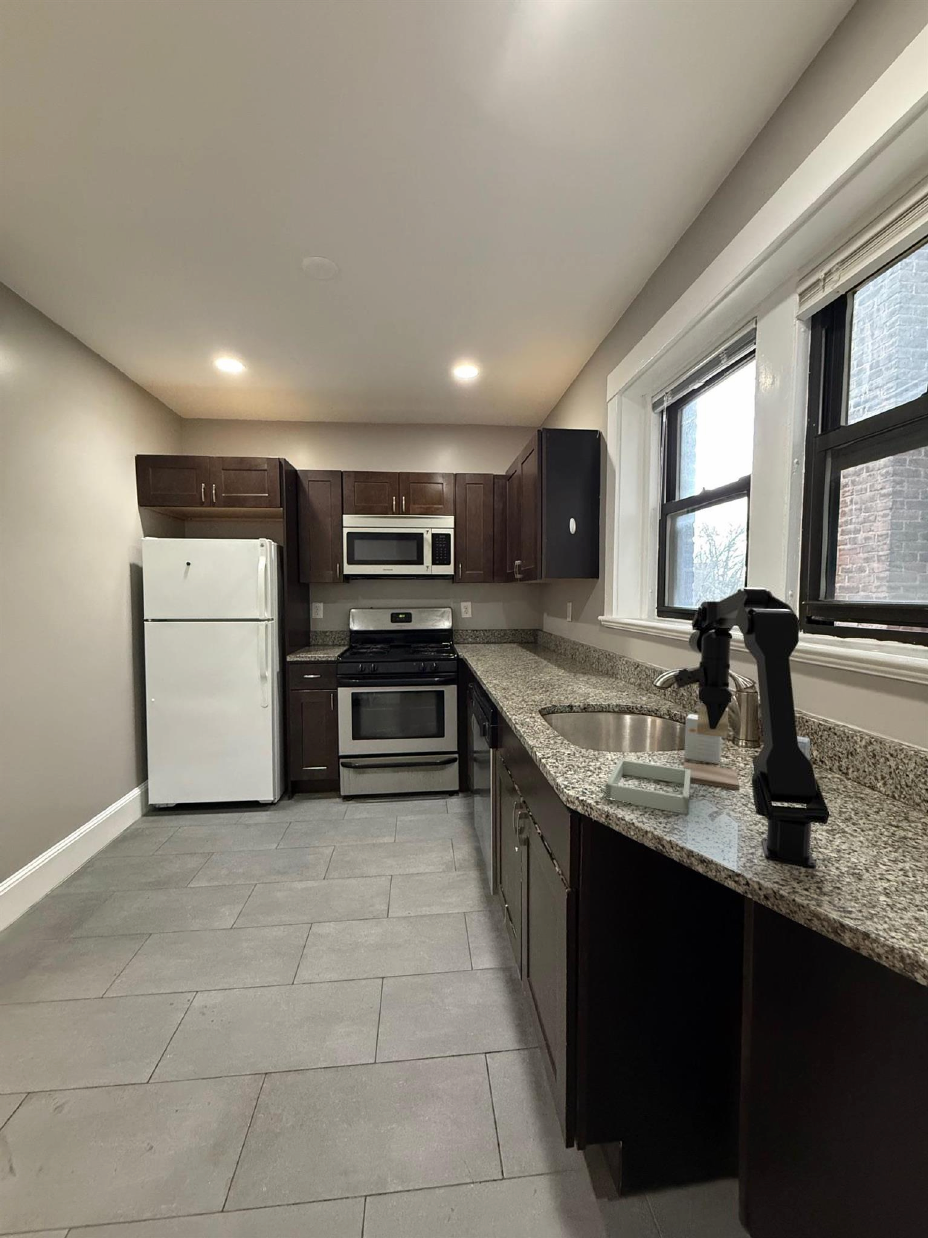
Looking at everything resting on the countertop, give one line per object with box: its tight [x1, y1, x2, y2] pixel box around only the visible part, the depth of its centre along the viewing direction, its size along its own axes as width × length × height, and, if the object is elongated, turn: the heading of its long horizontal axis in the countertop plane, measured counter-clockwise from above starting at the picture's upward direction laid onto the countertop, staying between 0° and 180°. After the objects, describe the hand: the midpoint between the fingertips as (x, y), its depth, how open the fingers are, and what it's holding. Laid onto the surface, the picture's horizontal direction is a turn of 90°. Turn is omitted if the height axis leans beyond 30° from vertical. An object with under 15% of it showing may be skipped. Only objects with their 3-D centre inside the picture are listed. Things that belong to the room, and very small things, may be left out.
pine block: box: [697, 703, 729, 738], centre depth 113 cm, size 4×6×6 cm
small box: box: [684, 713, 723, 765], centre depth 127 cm, size 8×6×10 cm
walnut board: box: [683, 761, 740, 790], centre depth 114 cm, size 11×11×1 cm
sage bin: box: [605, 758, 691, 815], centre depth 105 cm, size 18×15×3 cm
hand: (712, 726), depth 113 cm, fingers closed on pine block, 4 cm apart
